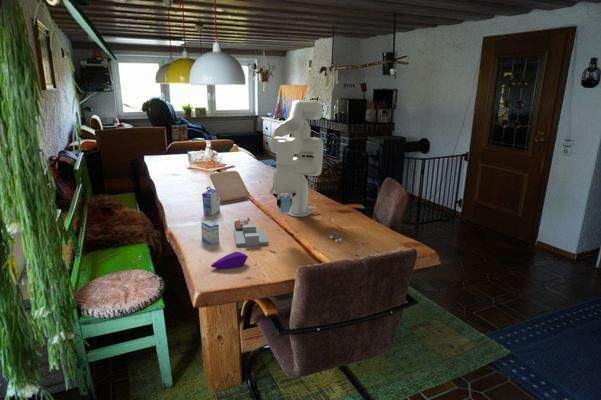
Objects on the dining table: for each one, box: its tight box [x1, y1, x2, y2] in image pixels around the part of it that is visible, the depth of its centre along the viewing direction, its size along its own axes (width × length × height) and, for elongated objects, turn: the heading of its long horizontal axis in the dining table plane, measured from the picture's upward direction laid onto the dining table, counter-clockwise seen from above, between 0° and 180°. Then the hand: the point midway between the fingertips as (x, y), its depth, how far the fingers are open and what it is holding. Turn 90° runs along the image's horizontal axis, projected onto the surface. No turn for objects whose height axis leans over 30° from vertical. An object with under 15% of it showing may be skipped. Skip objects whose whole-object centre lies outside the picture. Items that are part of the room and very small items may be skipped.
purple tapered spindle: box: [210, 251, 249, 270], centre depth 156 cm, size 5×5×15 cm
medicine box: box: [200, 220, 220, 245], centre depth 180 cm, size 8×4×9 cm, turn 45°
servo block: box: [278, 193, 291, 214], centre depth 182 cm, size 4×10×8 cm, turn 13°
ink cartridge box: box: [201, 185, 221, 217], centre depth 217 cm, size 10×6×14 cm, turn 164°
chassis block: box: [233, 223, 269, 248], centre depth 183 cm, size 14×15×5 cm
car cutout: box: [329, 230, 342, 243], centre depth 183 cm, size 15×7×4 cm, turn 27°
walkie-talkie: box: [234, 217, 253, 231], centre depth 199 cm, size 9×4×20 cm
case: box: [209, 170, 250, 205], centre depth 245 cm, size 20×21×16 cm
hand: (284, 206), depth 183 cm, fingers closed on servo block, 4 cm apart
